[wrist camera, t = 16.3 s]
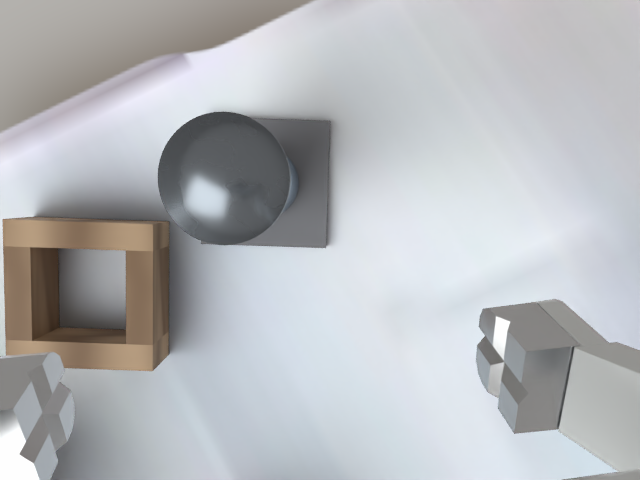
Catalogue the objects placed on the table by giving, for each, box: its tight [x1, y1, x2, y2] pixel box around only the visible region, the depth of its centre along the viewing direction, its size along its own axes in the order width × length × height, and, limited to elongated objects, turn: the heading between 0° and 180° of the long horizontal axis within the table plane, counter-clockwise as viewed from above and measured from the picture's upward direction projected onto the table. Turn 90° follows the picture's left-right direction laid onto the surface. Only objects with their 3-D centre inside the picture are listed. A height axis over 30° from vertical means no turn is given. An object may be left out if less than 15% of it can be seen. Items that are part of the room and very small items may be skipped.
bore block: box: [3, 217, 169, 371], centre depth 35 cm, size 10×10×4 cm
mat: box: [201, 118, 330, 248], centre depth 36 cm, size 9×9×1 cm
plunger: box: [158, 112, 299, 245], centre depth 29 cm, size 6×6×14 cm
